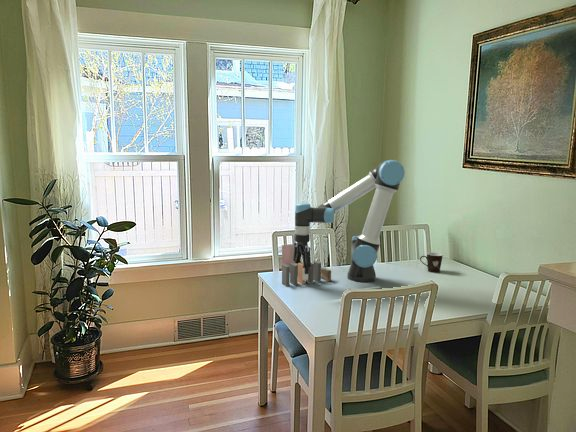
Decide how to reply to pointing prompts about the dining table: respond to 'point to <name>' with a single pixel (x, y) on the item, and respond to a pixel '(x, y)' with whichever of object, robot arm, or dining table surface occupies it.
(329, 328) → the dining table surface
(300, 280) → the orange rectangular block
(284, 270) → the domino
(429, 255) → the coffee mug
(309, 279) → the domino
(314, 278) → the domino
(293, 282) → the domino
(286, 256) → the greeting card
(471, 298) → the dining table surface
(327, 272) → the block
